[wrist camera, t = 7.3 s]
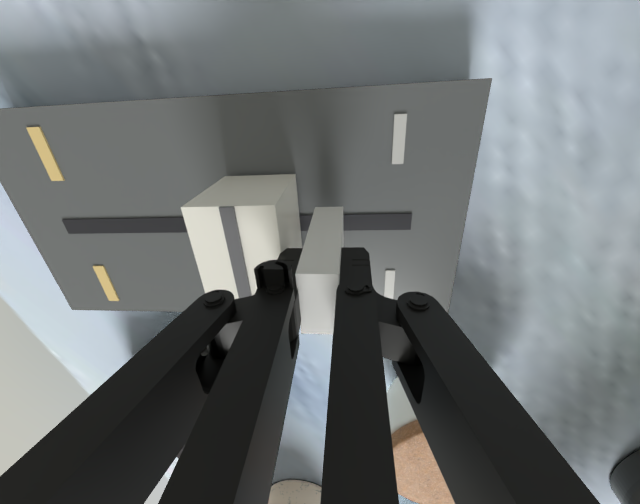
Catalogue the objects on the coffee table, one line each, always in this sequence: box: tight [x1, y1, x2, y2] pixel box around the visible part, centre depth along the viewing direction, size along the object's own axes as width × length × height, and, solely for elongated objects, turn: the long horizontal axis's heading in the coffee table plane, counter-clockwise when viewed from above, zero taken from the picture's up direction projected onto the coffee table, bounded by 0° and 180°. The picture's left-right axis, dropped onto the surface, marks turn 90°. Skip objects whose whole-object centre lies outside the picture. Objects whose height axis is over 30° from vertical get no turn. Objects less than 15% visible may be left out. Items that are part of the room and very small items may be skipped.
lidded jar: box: [387, 376, 455, 504], centre depth 24 cm, size 11×11×9 cm
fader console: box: [0, 78, 492, 313], centre depth 20 cm, size 28×14×3 cm, turn 93°
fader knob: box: [181, 174, 302, 299], centre depth 16 cm, size 4×6×5 cm, turn 3°
